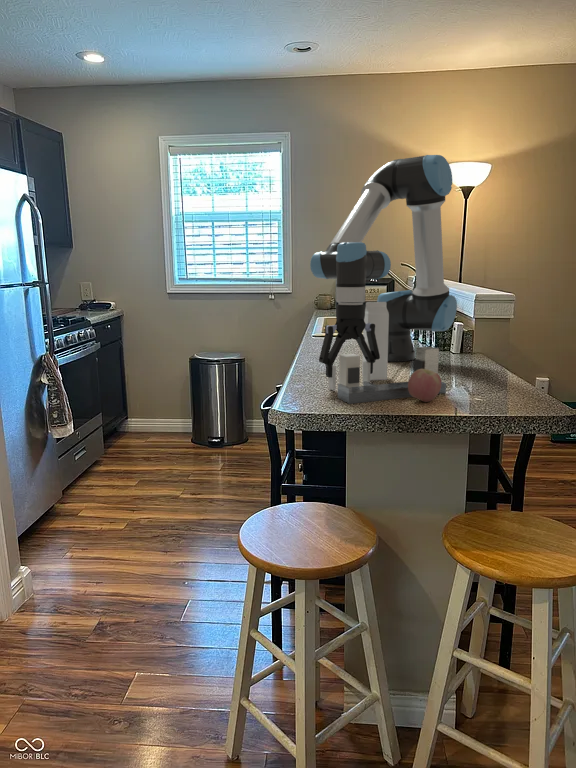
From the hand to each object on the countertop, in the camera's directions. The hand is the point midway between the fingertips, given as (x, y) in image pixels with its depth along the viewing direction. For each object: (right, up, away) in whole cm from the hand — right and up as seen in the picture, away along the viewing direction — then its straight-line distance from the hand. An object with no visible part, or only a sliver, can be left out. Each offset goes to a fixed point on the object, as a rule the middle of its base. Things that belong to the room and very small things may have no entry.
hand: (349, 387), depth 152 cm
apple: (+16, -4, -15) cm, 22 cm away
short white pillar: (0, 0, 0) cm, 0 cm away
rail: (+10, -2, -9) cm, 13 cm away
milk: (+9, +2, +13) cm, 16 cm away
